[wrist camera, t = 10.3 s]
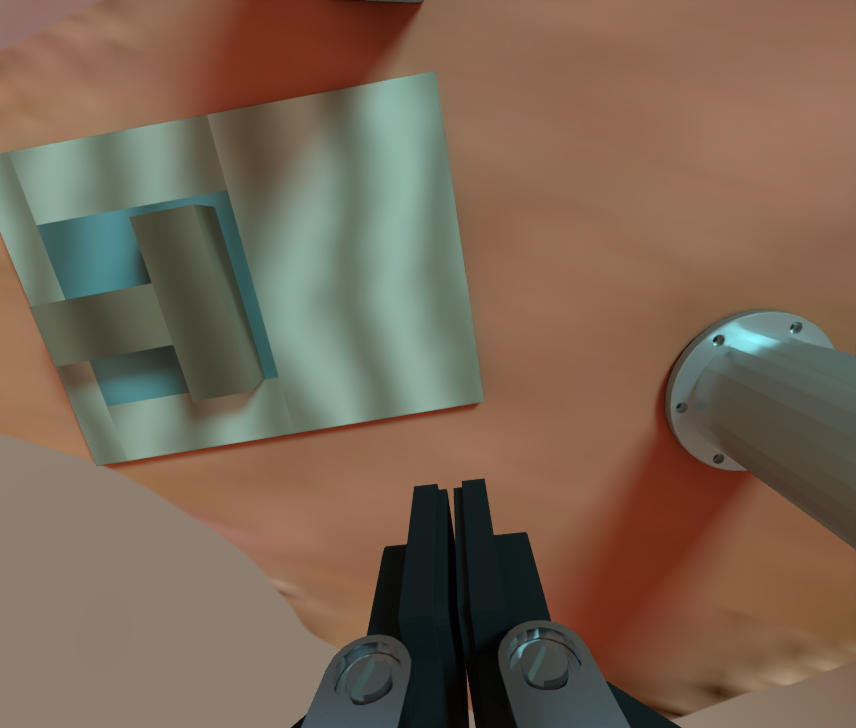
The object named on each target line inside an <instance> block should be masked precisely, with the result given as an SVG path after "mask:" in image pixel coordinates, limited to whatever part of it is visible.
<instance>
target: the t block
mask: <svg viewBox="0 0 856 728" xmlns="http://www.w3.org/2000/svg"><path fill="white" fill-rule="evenodd" d="M129 219H130V222H131V224H132V227H133V230H134V233H135V236H136V239H137V242H138V245H139V247H140V250H141V253H142V256H143V259H144V262H145V265H146V268H147V271H148V273H149V276H150V279H151V282H152V283H150V284H145V285H140V286H135V287H130V288H124V289H119V290H114V291H109V292H104V293H98V294H93V295H88V296H83V297H78V298H72V299H67V300H62V301H57V302H52V303H47V304H42V305H36V306H31V307H30V309H31V312H32V314H33V316H34V319H35V321H36V323H37V326H38V328H39V330H40V333H41V335H42V337H43V340H44V342H45V345H46V347H47V349H48V352H49V354H50V356H51V359H52V361H53V363H54V366H55V367H57V366H62V365H68V364H73V363H78V362H84V361H89V360H94V359H100V358H105V357H110V356H116V355H121V354H126V353H132V352H137V351H142V350H148V349H153V348H158V347H164V346H169V345H173V346H174V348H175V351H176V354H177V357H178V360H179V363H180V366H181V369H182V371H183V374H184V377H185V380H186V383H187V386H188V389H189V392H190V395H191V397H192V400H193V402H195V401H201V400H206V399H212V398H217V397H222V396H228V395H233V394H239V393H244V392H250V391H252V390H253V389H254V388H255V387H256V386H257V385H258V384H259V383H260V382H261V381H262V380H263V379H265V374H264V371H263V368H262V364H261V361H260V358H259V354H258V351H257V347H256V344H255V341H254V337H253V334H252V331H251V327H250V324H249V320H248V317H247V314H246V310H245V307H244V304H243V300H242V297H241V293H240V290H239V287H238V283H237V280H236V277H235V273H234V270H233V266H232V263H231V260H230V256H229V253H228V250H227V246H226V243H225V239H224V236H223V233H222V229H221V226H220V223H219V219H218V216H217V212H216V209H215V207H213V206H204V205H196V204H192V205H187V206H182V207H177V208H172V209H167V210H162V211H157V212H152V213H147V214H142V215H137V216H132V217H129Z"/></svg>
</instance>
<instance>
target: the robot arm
mask: <svg viewBox="0 0 856 728" xmlns="http://www.w3.org/2000/svg"><path fill="white" fill-rule="evenodd" d="M713 338H714V339H713ZM665 411H666V416H667V421H668V424H669V426H670V429H671V431H672V433H673V435H674V437H675V438H676V439H677V441H678V442H679V443H680V445H681V446H682V447H683V448H684V449H686V450H687V451H688V452H689V453H690V454H691V455H692V456H694V457H695V458H697V459H698V460H700V461H701V462H703V463H705V464H707V465H709V466H712V467H714V468H718V469H724V470H729V471H749V472H750V473H752V474H753V475H755V476H756V477H757V478H759V479H760V480H761V481H763V482H764V483H765V484H767V485H768V486H770V487H771V488H772V489H774V490H775V491H776V492H778V493H779V494H780V495H782V496H783V497H785V498H786V499H787V500H789V501H790V502H791V503H793V504H794V505H795V506H797V507H798V508H800V509H801V510H802V511H804V512H805V513H806V514H808V515H809V516H810V517H812V518H813V519H815V520H816V521H817V522H819V523H820V524H821V525H823V526H824V527H825V528H827V529H828V530H830V531H831V532H832V533H834V534H835V535H836V536H838V537H839V538H840V539H842V540H843V541H845V542H846V543H847V544H849V545H850V546H851V547H853V548H854V549H855V550H856V356H855V355H851V354H848V353H844V352H841V351H837V350H835V348H834V346H833V344H832V343H831V341H830V339H829V338H828V336H827V335H826V334H825V333H824V332H823V331H822V330H821V329H820V328H819V327H818V326H816V325H815V324H813V323H811V322H810V321H808V320H806V319H805V318H802V317H799V316H796V315H793V314H790V313H785V312H780V311H775V310H755V311H749V312H743V313H739V314H737V315H734V316H731V317H728V318H725V319H723V320H721V321H720V322H718V323H716V324H714V325H712V326H711V327H709V328H708V329H706V330H705V331H704V332H703V333H701V334H700V335H699V336H698V337H696V338H695V339H694V340H693V342H692V343H691V344H690V345H689V346H688V347H687V348H686V349H685V350H684V352H683V353H682V355H681V356H680V358H679V359H678V361H677V362H676V364H675V366H674V368H673V371H672V373H671V375H670V378H669V381H668V385H667V390H666V394H665ZM454 514H455V539H454V532H453V525H452V519H451V512H450V506H449V499H448V493H447V489H442V490H439V489H438V485H437V484H432V485H423V486H415V487H414V492H413V501H412V509H411V517H410V525H409V533H408V541H407V544H405V545H395V546H386V547H385V548H384V551H383V555H382V561H381V566H380V571H379V576H378V581H377V586H376V591H375V596H374V601H373V606H372V612H371V617H370V622H369V627H368V632H367V636H365V637H362V638H359V639H357V640H354V641H353V642H351V643H349V644H348V645H346V646H345V647H343V648H342V649H341V650H340V651H339V652H338V653H337V654H336V655H335V656H334V657H333V659H332V661H331V662H330V664H329V665H328V667H327V669H326V671H325V673H324V676H323V678H322V680H321V683H320V685H319V688H318V690H317V692H316V694H315V696H314V699H313V701H312V704H311V706H310V708H309V711H308V713H307V714H306V715H305V716H304V717H303V718H302V719H300V720H299V721H298V722H297V723H296V724H295V725H293V726H292V727H291V728H469V714H468V692H467V675H468V681H469V688H470V694H471V701H472V707H473V713H474V720H475V726H476V728H681V727H680V726H678V725H676V724H675V723H673V722H672V721H670V720H668V719H667V718H665V717H664V716H662V715H660V714H659V713H657V712H655V711H654V710H652V709H651V708H649V707H647V706H646V705H644V704H643V703H641V702H639V701H638V700H636V699H635V698H633V697H631V696H630V695H628V694H627V693H625V692H623V691H622V690H620V689H619V688H617V687H615V686H614V685H612V684H611V683H609V682H607V681H606V680H605V679H604V677H603V675H602V673H601V671H600V669H599V668H598V666H597V664H596V662H595V660H594V658H593V656H592V654H591V653H590V651H589V649H588V647H587V646H586V644H585V643H584V642H583V640H582V639H581V638H580V636H579V635H577V634H576V633H575V632H573V631H572V630H571V629H569V628H568V627H566V626H563V625H561V624H559V623H556V622H551V618H550V615H549V611H548V607H547V604H546V600H545V597H544V593H543V589H542V586H541V582H540V578H539V575H538V571H537V567H536V564H535V560H534V557H533V553H532V549H531V546H530V542H529V538H528V535H527V533H526V532H521V533H511V534H502V535H494V534H493V528H492V522H491V516H490V509H489V503H488V497H487V491H486V485H485V479H476V480H467V481H462V487H460V488H454ZM455 544H456V545H455ZM466 669H467V672H466Z"/></svg>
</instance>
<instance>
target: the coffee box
mask: <svg viewBox="0 0 856 728" xmlns="http://www.w3.org/2000/svg"><path fill="white" fill-rule="evenodd" d="M367 1H388V2H410V3H418V2H422V1H423V0H367Z"/></svg>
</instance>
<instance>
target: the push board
mask: <svg viewBox="0 0 856 728" xmlns="http://www.w3.org/2000/svg"><path fill="white" fill-rule="evenodd" d="M192 204H196V205H204V206H213V207H215V209H216V212H217V216H218V219H219V223H220V226H221V229H222V233H223V236H224V239H225V243H226V246H227V250H228V253H229V256H230V260H231V263H232V266H233V270H234V273H235V277H236V280H237V283H238V287H239V290H240V293H241V297H242V300H243V304H244V307H245V310H246V314H247V317H248V320H249V324H250V327H251V331H252V334H253V337H254V341H255V344H256V347H257V351H258V354H259V358H260V361H261V364H262V368H263V371H264V374H265V379H263V380H262V381H261V382H260V383H259V384H258V385H257V386H256V387H255V388H254V389H253V390H252V391H250V392H244V393H239V394H233V395H228V396H222V397H217V398H212V399H206V400H201V401H195V402H193V400H192V397H191V395H190V392H189V389H188V386H187V383H186V380H185V377H184V374H183V371H182V369H181V366H180V363H179V360H178V357H177V354H176V351H175V348H174V346H173V345H169V346H164V347H158V348H153V349H148V350H142V351H137V352H132V353H126V354H121V355H116V356H110V357H105V358H100V359H94V360H89V361H84V362H78V363H73V364H68V365H62V366H57V367H56V369H57V371H58V374H59V376H60V378H61V381H62V383H63V386H64V388H65V391H66V393H67V396H68V398H69V400H70V403H71V405H72V408H73V410H74V413H75V415H76V417H77V420H78V422H79V425H80V427H81V430H82V432H83V434H84V437H85V439H86V442H87V444H88V447H89V449H90V452H91V454H92V456H93V459H94V461H95V464H96V466H100V465H106V464H112V463H118V462H124V461H130V460H136V459H142V458H148V457H154V456H160V455H166V454H172V453H178V452H184V451H190V450H196V449H203V448H209V447H215V446H221V445H227V444H233V443H239V442H245V441H251V440H257V439H263V438H269V437H275V436H281V435H287V434H293V433H299V432H305V431H311V430H317V429H323V428H329V427H335V426H341V425H347V424H353V423H359V422H365V421H371V420H377V419H383V418H389V417H395V416H401V415H407V414H414V413H420V412H426V411H432V410H438V409H444V408H450V407H456V406H462V405H468V404H474V403H480V402H484V397H483V390H482V384H481V377H480V370H479V363H478V356H477V350H476V343H475V336H474V329H473V322H472V316H471V309H470V302H469V295H468V289H467V282H466V275H465V268H464V261H463V255H462V248H461V241H460V234H459V227H458V221H457V214H456V207H455V200H454V193H453V187H452V180H451V173H450V166H449V159H448V153H447V146H446V139H445V132H444V126H443V119H442V112H441V105H440V98H439V92H438V85H437V78H436V71H434V72H429V73H423V74H418V75H413V76H407V77H402V78H397V79H392V80H386V81H381V82H376V83H371V84H365V85H360V86H355V87H350V88H344V89H339V90H334V91H328V92H323V93H318V94H313V95H307V96H302V97H297V98H292V99H286V100H281V101H276V102H270V103H265V104H260V105H255V106H249V107H244V108H239V109H234V110H228V111H223V112H218V113H213V114H207V115H202V116H197V117H191V118H186V119H181V120H176V121H170V122H165V123H160V124H155V125H149V126H144V127H139V128H134V129H128V130H123V131H118V132H112V133H107V134H102V135H97V136H91V137H86V138H81V139H76V140H70V141H65V142H60V143H54V144H49V145H44V146H39V147H33V148H28V149H23V150H18V151H12V152H7V153H2V154H0V232H1V235H2V237H3V240H4V242H5V245H6V247H7V249H8V252H9V254H10V257H11V259H12V262H13V264H14V267H15V269H16V271H17V274H18V276H19V279H20V281H21V284H22V286H23V288H24V291H25V293H26V296H27V298H28V301H29V303H30V305H31V306H36V305H42V304H47V303H52V302H57V301H62V300H67V299H72V298H78V297H83V296H88V295H93V294H98V293H104V292H109V291H114V290H119V289H124V288H130V287H135V286H140V285H145V284H150V283H152V282H151V279H150V276H149V273H148V271H147V268H146V265H145V262H144V259H143V256H142V253H141V250H140V247H139V245H138V242H137V239H136V236H135V233H134V230H133V227H132V224H131V222H130V219H129V217H132V216H137V215H142V214H147V213H152V212H157V211H162V210H167V209H172V208H177V207H182V206H187V205H192Z"/></svg>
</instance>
